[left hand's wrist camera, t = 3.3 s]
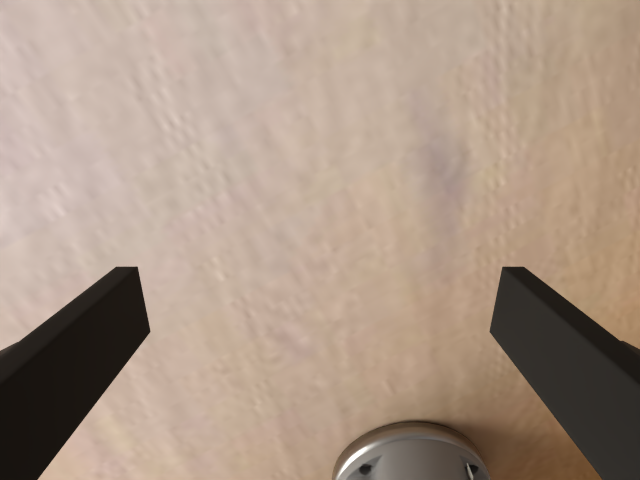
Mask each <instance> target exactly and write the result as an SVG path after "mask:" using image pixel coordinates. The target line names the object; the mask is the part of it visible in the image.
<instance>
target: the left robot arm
mask: <svg viewBox="0 0 640 480" xmlns="http://www.w3.org/2000/svg"><path fill="white" fill-rule="evenodd" d="M149 333H150V327H149V322H148V317H147V312H146V307H145V302H144V297H143V292H142V287H141V282H140V277H139V272H138V267H115V268H114V269H113V270H111V271H110V272H109V273H108V274H106V275H105V276H104V277H102V278H101V279H100V280H98V281H97V282H96V283H95V284H93V285H92V286H91V287H89V288H88V289H87V290H85V291H84V292H83V293H82V294H80V295H79V296H78V297H76V298H75V299H74V300H72V301H71V302H70V303H69V304H67V305H66V306H65V307H63V308H62V309H61V310H60V311H58V312H57V313H56V314H54V315H53V316H52V317H50V318H49V319H48V320H47V321H45V322H44V323H43V324H41V325H40V326H39V327H37V328H36V329H35V330H34V331H32V332H31V333H30V334H28V335H27V336H26V337H24V338H23V339H22V340H21V341H19V342H17V343H15V344H13V345H11V346H9V347H7V348H5V349H3V350H1V351H0V480H37V479H38V478H39V477H40V475H41V474H42V473H43V472H44V470H45V469H46V468H47V466H48V465H49V464H50V462H51V461H52V460H53V458H54V457H55V456H56V455H57V453H58V452H59V451H60V449H61V448H62V447H63V445H64V444H65V443H66V441H67V440H68V439H69V438H70V436H71V435H72V434H73V432H74V431H75V430H76V428H77V427H78V426H79V424H80V423H81V422H82V421H83V419H84V418H85V417H86V415H87V414H88V413H89V411H90V410H91V409H92V407H93V406H94V405H95V404H96V402H97V401H98V400H99V398H100V397H101V396H102V394H103V393H104V392H105V390H106V389H107V388H108V387H109V385H110V384H111V383H112V381H113V380H114V379H115V377H116V376H117V375H118V373H119V372H120V371H121V370H122V368H123V367H124V366H125V364H126V363H127V362H128V360H129V359H130V358H131V356H132V355H133V354H134V353H135V351H136V350H137V349H138V347H139V346H140V345H141V343H142V342H143V341H144V339H145V338H146V337H147V336H148V334H149ZM490 333H491V334H492V336H493V337H494V338H495V339H496V341H497V342H498V343H499V345H500V346H501V347H502V349H503V350H504V351H505V353H506V354H507V355H508V356H509V358H510V359H511V360H512V362H513V363H514V364H515V366H516V367H517V368H518V370H519V371H520V372H521V373H522V375H523V376H524V377H525V379H526V380H527V381H528V383H529V384H530V385H531V387H532V388H533V389H534V390H535V392H536V393H537V394H538V396H539V397H540V398H541V400H542V401H543V402H544V404H545V405H546V406H547V407H548V409H549V410H550V411H551V413H552V414H553V415H554V417H555V418H556V419H557V421H558V422H559V423H560V424H561V426H562V427H563V428H564V430H565V431H566V432H567V434H568V435H569V436H570V438H571V439H572V440H573V441H574V443H575V444H576V445H577V447H578V448H579V449H580V451H581V452H582V453H583V455H584V456H585V457H586V458H587V460H588V461H589V462H590V464H591V465H592V466H593V468H594V469H595V470H596V472H597V473H598V474H599V475H600V477H601V478H602V479H603V480H640V349H638V348H636V347H634V346H632V345H630V344H628V343H626V342H624V341H619V340H618V339H617V338H616V337H614V336H613V335H612V334H610V333H609V332H608V331H606V330H605V329H604V328H603V327H601V326H600V325H599V324H597V323H596V322H595V321H593V320H592V319H591V318H590V317H588V316H587V315H586V314H584V313H583V312H582V311H580V310H579V309H578V308H577V307H575V306H574V305H573V304H571V303H570V302H569V301H568V300H566V299H565V298H564V297H562V296H561V295H560V294H558V293H557V292H556V291H555V290H553V289H552V288H551V287H549V286H548V285H547V284H545V283H544V282H543V281H542V280H540V279H539V278H538V277H536V276H535V275H534V274H532V273H531V272H530V271H529V270H527V269H526V268H525V267H502V272H501V277H500V282H499V287H498V292H497V297H496V302H495V307H494V312H493V317H492V322H491V327H490ZM332 480H491V479H490V475H489V473H488V470H487V468H486V466H485V464H484V462H483V459H482V457H481V455H480V453H479V451H478V450H477V448H476V447H475V446H474V444H473V443H472V442H471V441H470V440H468V439H467V438H466V437H465V436H463V435H462V434H460V433H458V432H456V431H454V430H452V429H450V428H447V427H444V426H441V425H436V424H431V423H423V422H406V423H398V424H392V425H388V426H384V427H381V428H378V429H375V430H373V431H371V432H368V433H366V434H365V435H363V436H361V437H360V438H358V439H356V440H355V441H354V442H353V443H351V444H350V445H349V446H348V447H347V448H346V449H345V450H344V451H343V452H342V454H341V455H340V457H339V458H338V460H337V462H336V464H335V467H334V470H333V476H332Z"/></svg>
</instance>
